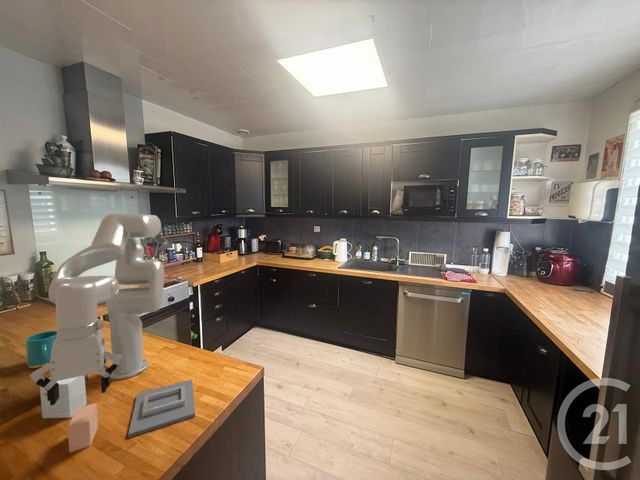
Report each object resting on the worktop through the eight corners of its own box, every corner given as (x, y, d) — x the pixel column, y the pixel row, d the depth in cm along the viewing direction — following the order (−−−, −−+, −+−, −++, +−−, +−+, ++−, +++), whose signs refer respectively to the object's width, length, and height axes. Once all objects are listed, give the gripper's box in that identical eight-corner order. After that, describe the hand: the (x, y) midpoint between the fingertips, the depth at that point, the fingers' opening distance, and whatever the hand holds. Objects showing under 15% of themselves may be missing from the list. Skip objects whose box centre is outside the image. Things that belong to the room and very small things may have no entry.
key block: (78, 432, 69) (77, 407, 68) (98, 426, 71) (96, 402, 70) (69, 452, 63) (67, 426, 62) (90, 446, 65) (89, 420, 64)
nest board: (137, 396, 83) (137, 388, 83) (192, 381, 91) (192, 375, 91) (128, 437, 67) (127, 429, 67) (195, 416, 75) (194, 408, 75)
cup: (27, 376, 92) (25, 346, 91) (27, 363, 100) (25, 335, 99) (62, 365, 99) (60, 337, 98) (60, 354, 107) (58, 328, 106)
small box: (87, 404, 79) (85, 372, 78) (70, 418, 73) (68, 384, 73) (60, 404, 79) (58, 372, 78) (41, 418, 73) (39, 384, 72)
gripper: (123, 320, 72) (125, 378, 73) (37, 331, 63) (40, 397, 64) (118, 329, 65) (120, 393, 66) (21, 344, 57) (24, 417, 58)
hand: (80, 395), depth 65 cm, fingers open, 9 cm apart
